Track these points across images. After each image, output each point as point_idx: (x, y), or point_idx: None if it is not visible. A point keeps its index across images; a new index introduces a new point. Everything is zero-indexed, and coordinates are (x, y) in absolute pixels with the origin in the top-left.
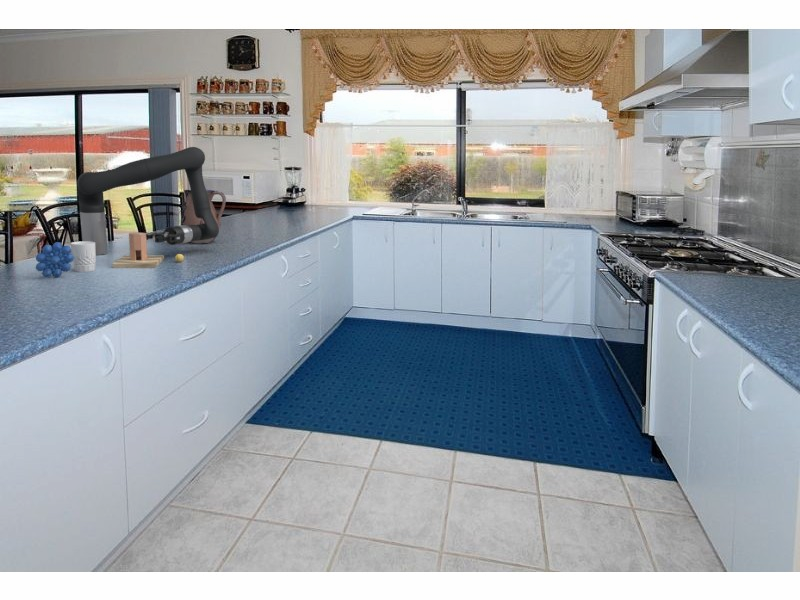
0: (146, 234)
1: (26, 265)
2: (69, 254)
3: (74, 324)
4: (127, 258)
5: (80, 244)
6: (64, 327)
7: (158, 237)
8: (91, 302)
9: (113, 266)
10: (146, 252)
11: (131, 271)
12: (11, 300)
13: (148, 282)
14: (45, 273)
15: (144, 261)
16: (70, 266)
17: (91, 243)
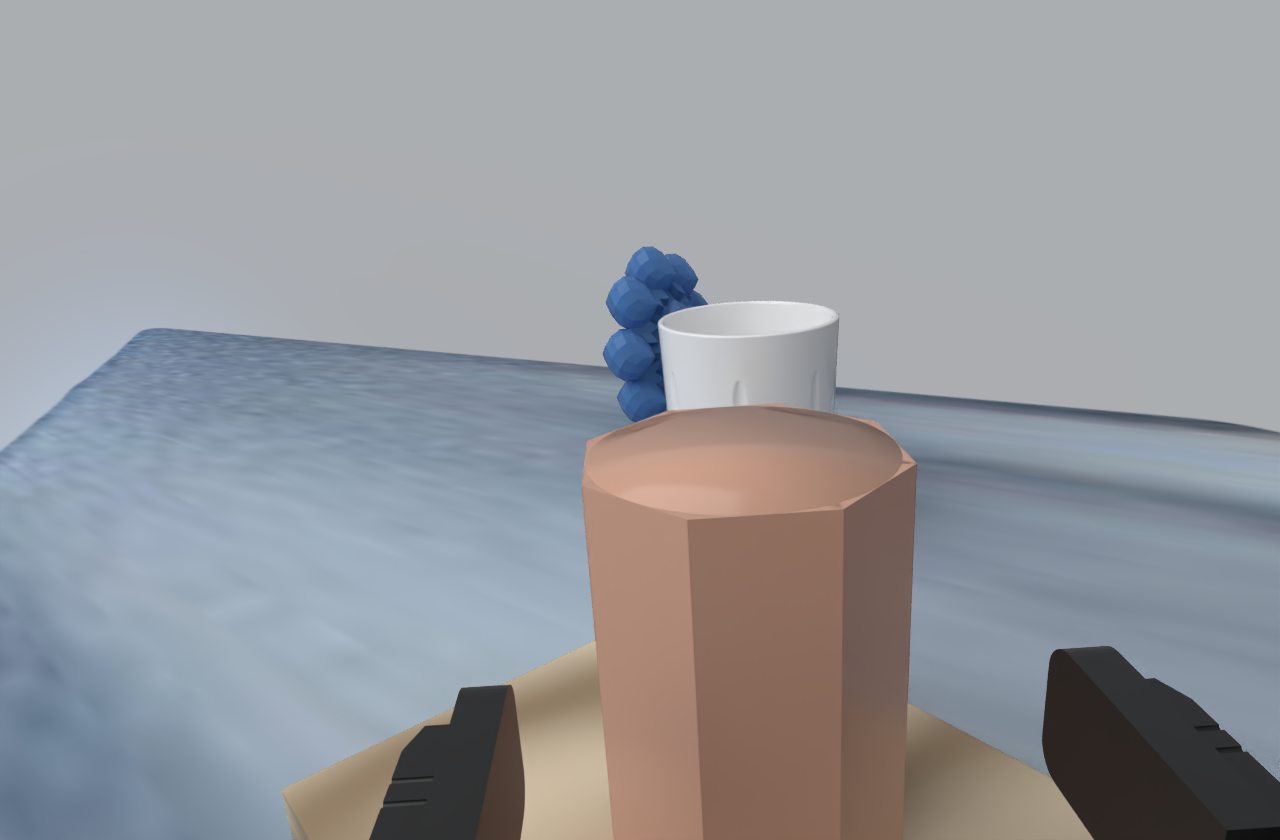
0: (1192, 789)
1: (1185, 450)
2: (617, 332)
3: (112, 364)
4: (939, 806)
5: (685, 309)
6: (125, 357)
7: (450, 740)
8: (184, 401)
9: None
10: (611, 805)
11: (417, 635)
12: (449, 356)
13: (74, 551)
14: None
15: (530, 807)
16: (625, 403)
17: (769, 349)
